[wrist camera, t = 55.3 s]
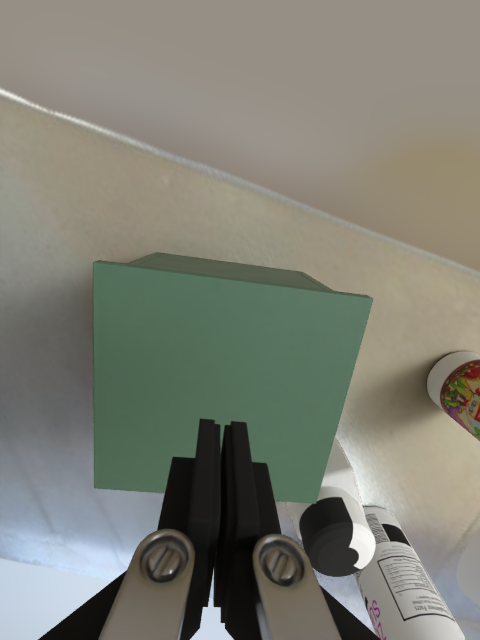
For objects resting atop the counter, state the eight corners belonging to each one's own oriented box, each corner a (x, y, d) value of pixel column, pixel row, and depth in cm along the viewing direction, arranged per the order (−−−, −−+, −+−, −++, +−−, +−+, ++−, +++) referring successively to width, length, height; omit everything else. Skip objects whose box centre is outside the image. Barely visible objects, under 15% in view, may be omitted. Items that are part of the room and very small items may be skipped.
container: (286, 486, 41) (312, 597, 29) (270, 440, 39) (291, 540, 27) (342, 470, 41) (393, 575, 29) (329, 422, 39) (378, 515, 26)
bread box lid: (98, 259, 17) (92, 262, 16) (367, 295, 18) (373, 298, 18) (98, 479, 22) (93, 488, 21) (313, 494, 23) (316, 504, 22)
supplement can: (405, 525, 45) (491, 667, 30) (359, 555, 46) (419, 705, 32) (374, 493, 43) (450, 629, 28) (326, 525, 44) (376, 670, 30)
